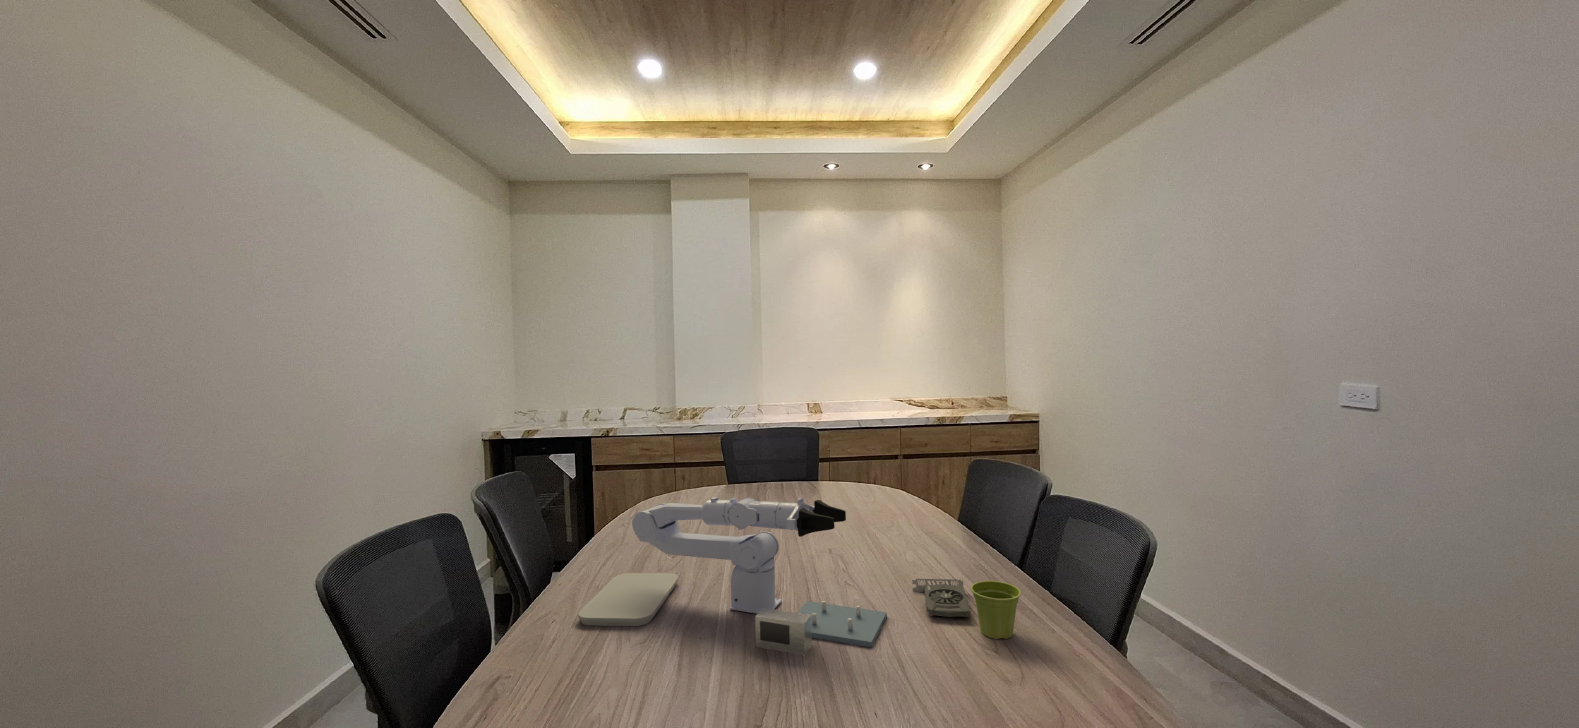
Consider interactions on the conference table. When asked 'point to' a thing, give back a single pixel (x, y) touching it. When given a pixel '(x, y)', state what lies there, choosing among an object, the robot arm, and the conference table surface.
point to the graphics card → (944, 597)
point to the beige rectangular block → (783, 631)
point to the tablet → (628, 599)
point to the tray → (844, 623)
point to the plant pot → (996, 607)
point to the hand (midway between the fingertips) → (839, 519)
